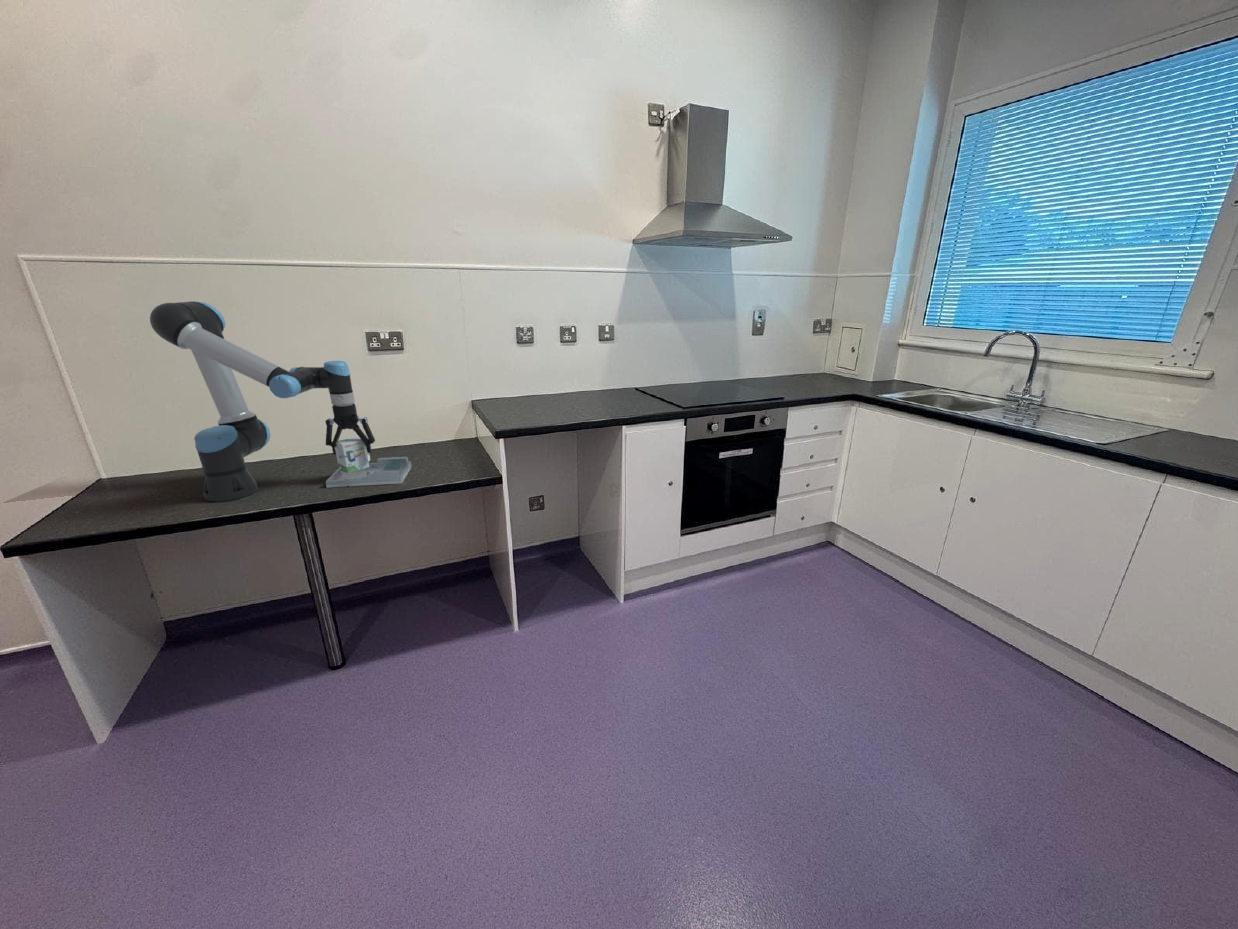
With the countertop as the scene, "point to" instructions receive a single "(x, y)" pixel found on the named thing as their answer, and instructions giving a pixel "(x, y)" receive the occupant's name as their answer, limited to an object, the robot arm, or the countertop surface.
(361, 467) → the ink box
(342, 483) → the keyhole tray
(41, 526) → the countertop surface
